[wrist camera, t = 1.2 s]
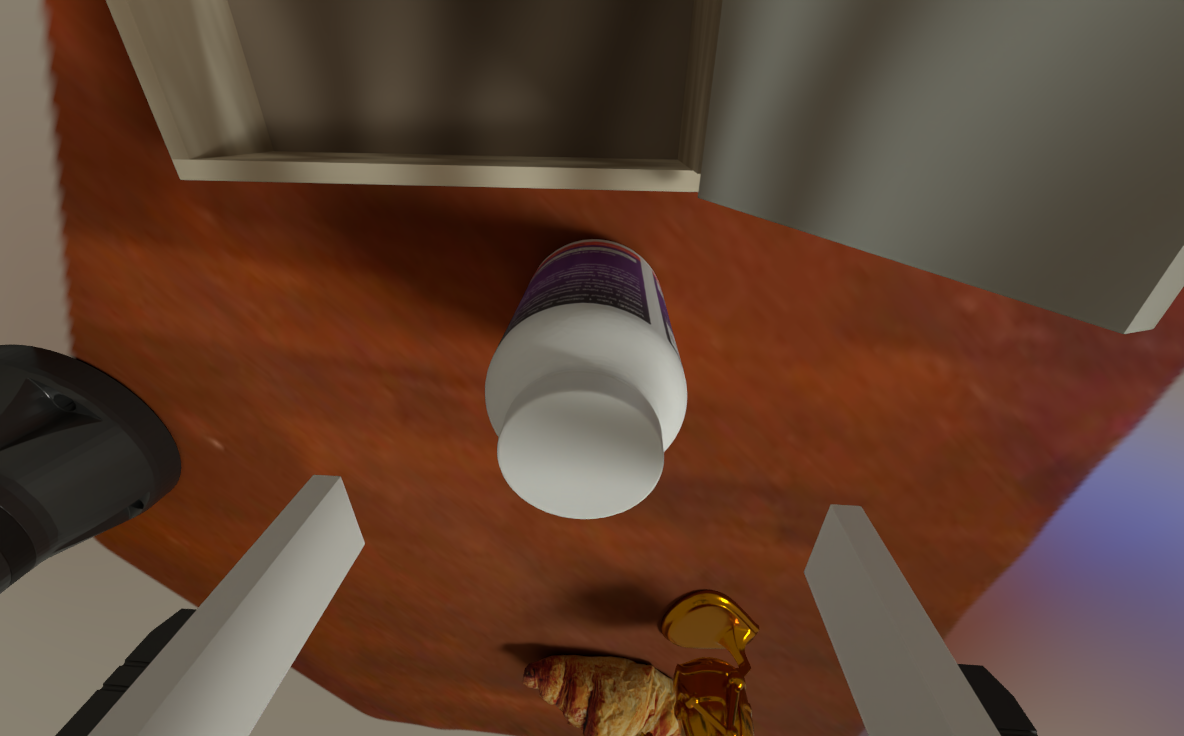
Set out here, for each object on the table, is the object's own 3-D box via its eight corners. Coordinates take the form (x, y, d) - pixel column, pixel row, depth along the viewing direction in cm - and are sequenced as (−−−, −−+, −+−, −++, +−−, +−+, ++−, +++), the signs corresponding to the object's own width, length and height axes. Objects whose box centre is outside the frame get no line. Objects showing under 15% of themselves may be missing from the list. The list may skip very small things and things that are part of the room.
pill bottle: (503, 302, 27) (407, 460, 15) (592, 203, 24) (565, 296, 12) (598, 381, 30) (585, 573, 17) (690, 300, 27) (755, 463, 14)
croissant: (706, 657, 52) (740, 715, 44) (673, 735, 52) (701, 807, 44) (539, 608, 48) (544, 662, 40) (504, 693, 48) (502, 763, 40)
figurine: (675, 577, 40) (696, 742, 29) (777, 611, 41) (831, 778, 31) (633, 626, 44) (638, 786, 33) (728, 655, 45) (761, 816, 35)
